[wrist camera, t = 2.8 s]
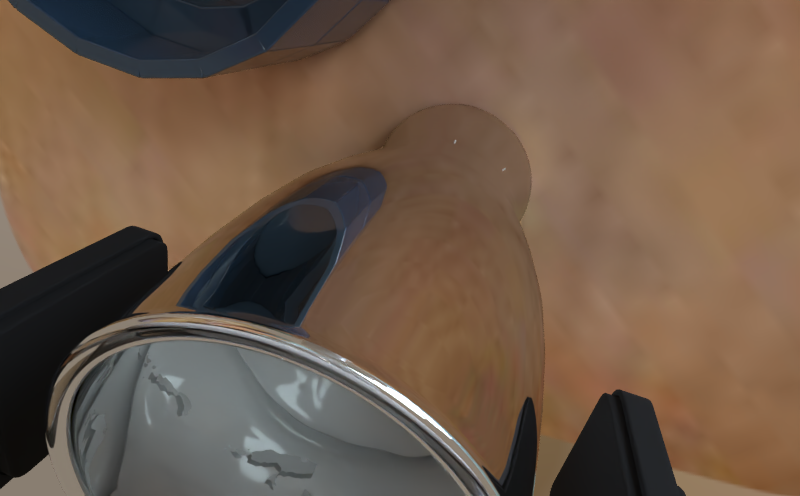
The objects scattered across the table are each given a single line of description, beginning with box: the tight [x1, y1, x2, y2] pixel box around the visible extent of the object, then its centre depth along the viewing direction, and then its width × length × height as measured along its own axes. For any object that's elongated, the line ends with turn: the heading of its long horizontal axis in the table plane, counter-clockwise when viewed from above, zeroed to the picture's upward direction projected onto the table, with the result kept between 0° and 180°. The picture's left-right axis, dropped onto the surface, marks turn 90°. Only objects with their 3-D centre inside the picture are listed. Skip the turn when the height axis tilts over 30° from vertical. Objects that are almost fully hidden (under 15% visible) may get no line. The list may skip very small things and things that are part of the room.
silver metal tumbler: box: [44, 104, 545, 496], centre depth 13 cm, size 7×7×15 cm
